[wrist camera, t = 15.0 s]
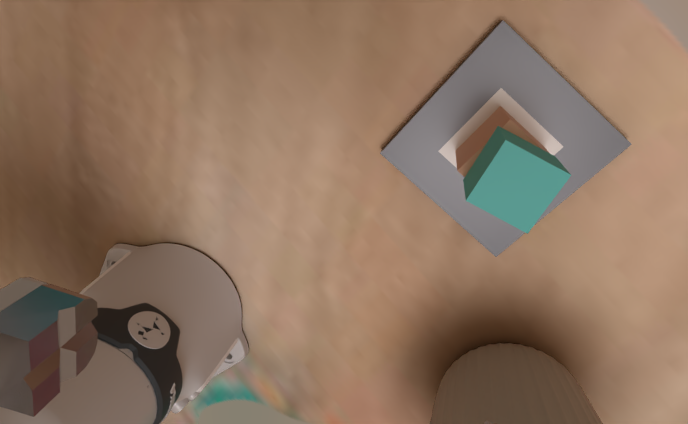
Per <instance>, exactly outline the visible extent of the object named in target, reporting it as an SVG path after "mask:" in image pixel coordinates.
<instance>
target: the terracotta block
mask: <svg viewBox="0 0 688 424" xmlns="http://www.w3.org/2000/svg"><path fill="white" fill-rule="evenodd" d="M497 126H500V127H501V128H503V129H505V130H507V131H509V132H511V133H513V134H515V135H516V136H518V137H520V138H522V139H524V140H526V141H528V142H529V143H531V144H533V145H535V146H537V147H539V148H541V149H543V150H544V151H546V152H548V151H547V149H546V148H545V147H544V146H543V145H542V144H541V143H540V142H539V141H538V140H536V139H535V138H534V137H533V136H532V135H531V134H530V133H529V132H528V131H527V130H526V129H525V128H524V127H523V126H522V125H521V124H519V123H518V122H517V121H516V120H515V119H514V118H513V117H512V116H511V115H510V114H509V113H508V112H507V111H506V110H505V109H503V108H502V107H501V106H500V107H499V108H498V109H497V110H496V111H495V112H494V113H493V114H492V115H491V116H490V117H489V118H488V119H487V120H486V121H485V122H484V123H483V124H482V125H481V126H480V127H479V128H478V129H477V130H476V131H475V132H474V133H473V134H472V135H471V136H470V137H469V138H468V139H467V140H466V141H465V142H464V143H463V144H462V145H461V146H460V147H459V148H458V149H457V150H456V151H455V153H456V163H457V171H458V172H459V173H460V174H461V175H463V176H464V177H465V176H466V175H467V173H468V172H469V170H470V168H471V167H472V165H473V164H474V162H475V161H476V159H477V158H478V156H479V154H480V153H481V151H482V150H483V148H484V147H485V145H486V143H487V142H488V140H489V139H490V137H491V136H492V134H493V133H494V131H495V129H496V128H497ZM548 153H549V152H548Z"/></svg>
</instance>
